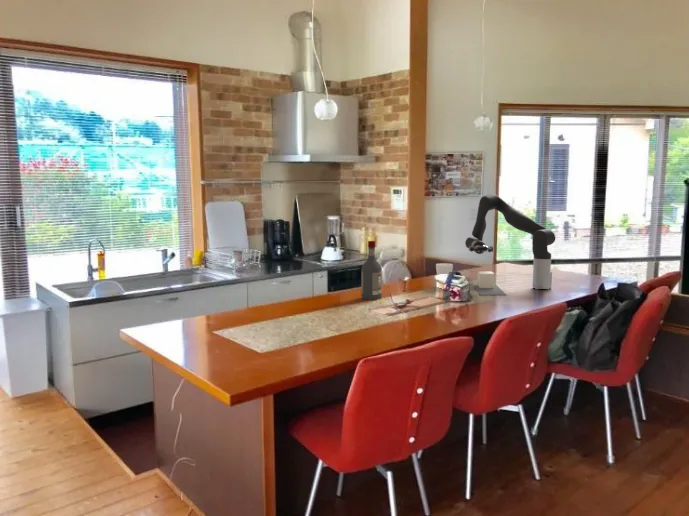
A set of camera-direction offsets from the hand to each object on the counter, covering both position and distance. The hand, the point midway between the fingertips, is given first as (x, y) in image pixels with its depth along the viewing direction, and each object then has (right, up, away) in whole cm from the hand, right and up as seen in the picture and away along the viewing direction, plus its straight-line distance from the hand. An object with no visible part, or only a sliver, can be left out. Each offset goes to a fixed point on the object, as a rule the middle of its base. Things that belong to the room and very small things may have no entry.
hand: (483, 250), depth 338 cm
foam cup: (-24, -21, -4) cm, 32 cm away
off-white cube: (0, -21, -6) cm, 22 cm away
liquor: (-66, -26, -33) cm, 78 cm away
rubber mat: (-1, -22, -14) cm, 26 cm away
